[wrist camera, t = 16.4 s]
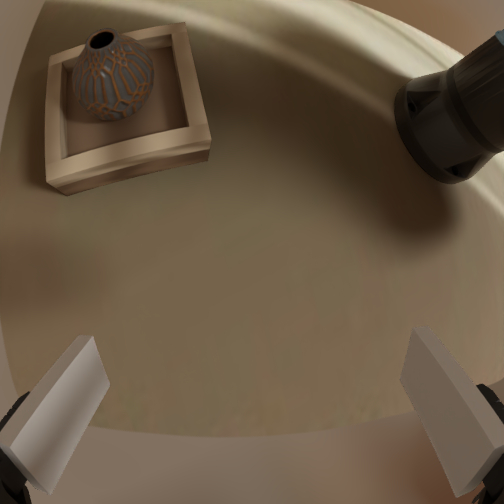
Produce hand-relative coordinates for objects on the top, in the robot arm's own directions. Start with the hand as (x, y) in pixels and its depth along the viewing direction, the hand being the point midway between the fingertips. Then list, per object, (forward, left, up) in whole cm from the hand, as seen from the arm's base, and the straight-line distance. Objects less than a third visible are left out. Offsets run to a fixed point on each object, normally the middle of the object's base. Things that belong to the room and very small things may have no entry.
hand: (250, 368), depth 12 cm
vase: (-5, -21, -14) cm, 25 cm away
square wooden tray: (-5, -21, -16) cm, 27 cm away
